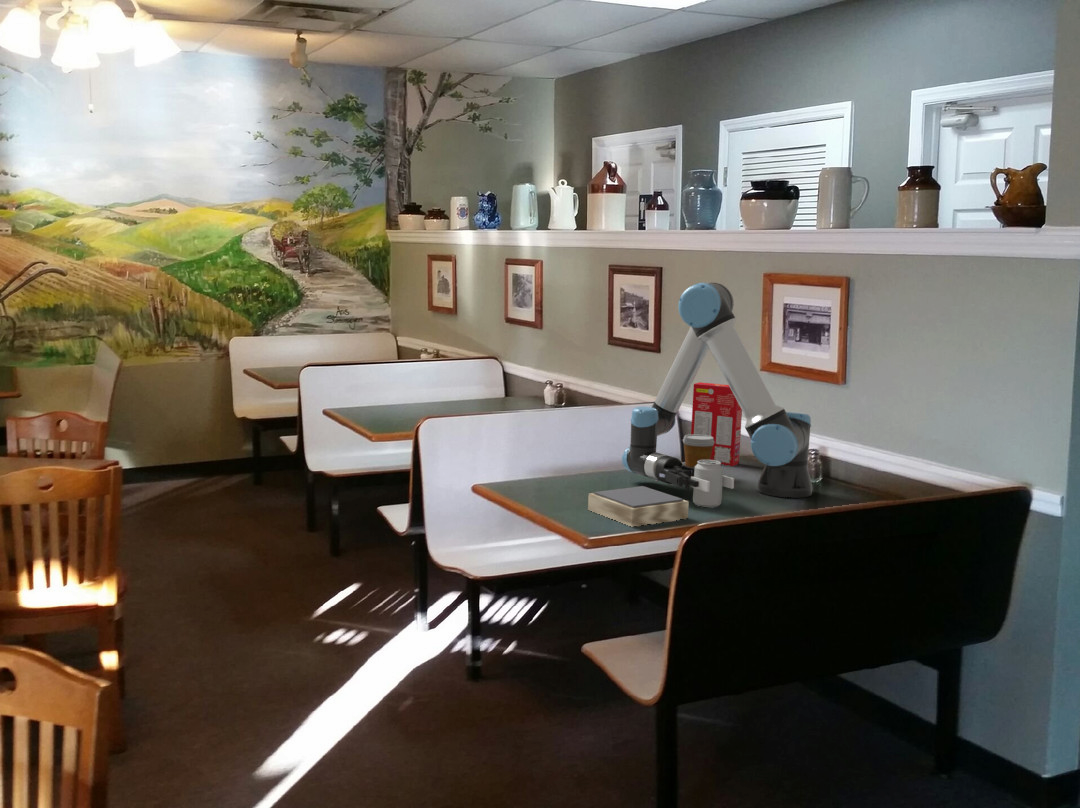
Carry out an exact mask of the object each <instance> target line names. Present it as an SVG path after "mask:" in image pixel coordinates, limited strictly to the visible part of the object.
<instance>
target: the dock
mask: <svg viewBox="0 0 1080 808" xmlns="http://www.w3.org/2000/svg"><path fill="white" fill-rule="evenodd" d="M587 500H588V501H587V502H588V503H587V511H588V510H590V511H592V512H591V513H593V512H595V513H597V514H596V515H598V514H600V515H599V516H601V515H603V516H605V517H604V518H606V517H608V518H610V519H609V520H611V519H613V520H612V521H614V520H616V521H618V522H617V523H619V522H621V523H623V524H622V525H624V524H626V525H625V526H627V525H628V527H629V526H631V527H630V528H634V527H633V526H637V527H642V526H641V525H644V526H648V525H647V524H651V525H656V523H657V524H662V522H664V523H669V522H677V521H681V520H680V519H684V520H687V519H686V518H688V519H689V503H690V502H689V500H685V499H683V498H681V497H679V496H675V495H672V494H669V493H666V492H663V491H659V490H656V489H653V488H650V487H647V486H644V485H640V486H634V487H633V486H632V487H625V488H624V487H623V488H617V489H609V490H602V491H595V492H591V493H590V492H589V493H588V498H587ZM590 511H589V512H590ZM595 513H594V514H595ZM603 516H602V517H603ZM608 518H607V519H608ZM676 520H677V521H676ZM616 521H615V522H616ZM621 523H620V524H621Z"/></svg>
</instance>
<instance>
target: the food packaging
mask: <svg viewBox="0 0 1080 808" xmlns="http://www.w3.org/2000/svg"><path fill="white" fill-rule="evenodd" d="M691 407H692V408H691V409H692V410H691V425H690V427H691V428H690V430H691V431H690V434H699V435H708V436H712V437H713V439H714V442H715V443H714V445H713V448H712V453H711V458H710V460H716V461H719V462H721V464H724V465H723V466H727V465H730V466H729V467H735V466H737V465H738V463H740V448H741V435H742V434H741V432H742V416H743V411H742V409H741V407H740V405H739V403H738V402H737V400H736V398H735V396H734V394H733V392H732V390H731V388H730V387H729V385H728V384H723V383H710V382H701V381H700V382H699V381H698V382H696V383H693V392H692V406H691Z"/></svg>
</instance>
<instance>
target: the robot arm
mask: <svg viewBox="0 0 1080 808" xmlns="http://www.w3.org/2000/svg"><path fill="white" fill-rule="evenodd" d="M734 306H735V304H734V298H733V294H732V293H731V291H730V290H729V289H728V287H726V286H725V285H723V284H722V283H718V282H708V283H707V282H698V283H695V284H693V285H691V286H689V287H687V288H686V289H685V290H684V291H683V292H682V293H681V295H680V297H679V301H678V306H677V307H678V313H679V316H680V318H681V320H682V321H683V322H684V323H685V324H686V325H687V326H688V327H689V329H688V332H687V333H686V336H685V337H684V340H683V342H682V344H681V346H680V348H679V350H678V352H677V354H676V356H675V358H674V361H673V362H672V365H671V366H670V369H669V370H668V373H667V374H666V377H665V379H664V381H663V382H662V385H661V387H660V389H659V390H658V393H657V395H656V397H655V399H654V402H653V404H652V406H637V407H636V406H635V407H634V408H633V409H632V411H631V418H630V423H631V424H630V445H629V447H627V448H625V450H624V451H623V454H622V456H621V463H622V466H623V468H624V469H625V470H627V471H628V472H630V473H633V474H635V475H638V476H641V477H645V478H649V479H654V480H655V482H661V483H665V484H668V485H675V486H677V487H679V488H680V487H683V486H684V489H685V490H690V488H693V489H694V488H696V489H699V490H702V491H706V492H709V487H710V481H706V480H703V479H700V478H696V477H694V471H695V466H694V468H693V467H688V466H686V465H685V464H683V463H682V461H681V460H680V459H679V458H678V457H676V456H675V457H674V456H670V455H668V454H665V453H661V452H657V446H658V445H657V442H658V441H657V439H658V437H659V436H661V435H664V434H667V433H669V432H670V431H671V430H672V429H673V428H674V427H675V425H676V416H677V414H678V412H679V410H680V408H681V406H682V404H683V402H684V400H685V397H687V394H688V392H689V390H690V388H691V385H692V384H693V382H694V380H695V378H696V376H697V374H698V372H699V370H700V368H701V366H702V363H703V361H704V360H705V358H706V356H707V354H708V352H709V351H710V352H711V355H712V356H713V358H714V360H715V362H716V365H717V366H718V368H719V369H720V372H721V373H722V375H723V377H724V379H725V380H726V383H727V385H729V387H730V388H731V390H732V392H733V394H734V396H735V398H736V400H737V402H738V403H739V405H740V407H741V409H742V414H744V417H745V418H746V422H745V424H744V425H745V426H744V428H745V431H746V432H747V434H748V436H749V438H750V449H751V452H752V453H753V455H754V457H755V458H756V459H757V460H758V461H759V462H760V463H762V464H763V465H764V467H763V470H762V471H761V473H760V477H759V479H758V482H757V488H756V489H757V491H758V492H759V493H761V494H764V495H768V496H771V495H772V496H771V497H777V496H778V498H787V497H789V499H790V497H791V498H793V499H799V498H807V497H810V496H812V494H813V484H812V481H811V475H810V471H809V467H808V465H809V464H808V462H809V461H808V460H809V451H810V436H811V427H812V424H811V422H812V421H811V416H810V414H808V413H800V412H791V411H789V412H788V411H786V410H785V407H783V406H779V405H776V403H775V401H774V399H773V398H772V396H771V393H770V392H769V390H768V388H767V386H766V384H765V382H764V381H763V379H762V377H761V375H760V373H759V370H757V368H756V365H755V364H754V362H753V360H752V358H751V357H750V355H749V353H748V351H747V349H746V347H745V345H744V343H743V341H742V340H741V337H740V335H739V334H738V332H737V330H736V328H735V323H736V321H737V318H736V316H735V314H734V313H733V311H734V310H733V309H734ZM691 476H692V477H691ZM734 486H735V478H734V477H730V476H728V475H724V474H723V483H722V487H724V488H728V489H731V490H732V489H734V488H735V487H734Z"/></svg>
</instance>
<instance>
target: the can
mask: <svg viewBox="0 0 1080 808" xmlns="http://www.w3.org/2000/svg"><path fill="white" fill-rule="evenodd" d="M697 462H698V464H697V465H696V466H695V471H694V477H696V478H700V479H703V480H706V481H710V487H709V492H706V491H702V490H699V489H696V488H693V491H692V492H693V494H692V503H693V504H694V505H695V506H696V505H698V506H697V507H699V506H703V507H716V508H718V507H719V506H720V505H721V504H722V499H723V498H722V497H723V486H722V483H723V475H724V468H723V465H721V462H719V461H716V460H699V461H697ZM717 506H718V507H717ZM703 507H702V508H703Z"/></svg>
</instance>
